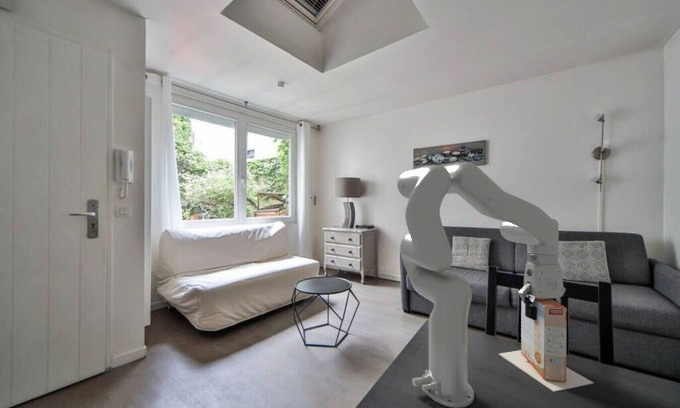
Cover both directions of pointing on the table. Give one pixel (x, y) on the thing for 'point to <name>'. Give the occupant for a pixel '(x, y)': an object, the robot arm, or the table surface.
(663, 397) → the table surface
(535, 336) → the cracker box
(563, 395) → the table surface
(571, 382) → the tile
